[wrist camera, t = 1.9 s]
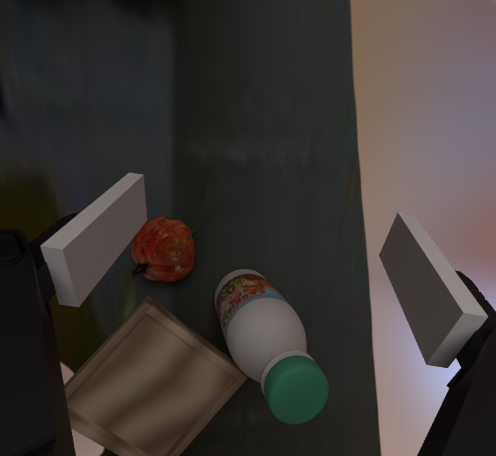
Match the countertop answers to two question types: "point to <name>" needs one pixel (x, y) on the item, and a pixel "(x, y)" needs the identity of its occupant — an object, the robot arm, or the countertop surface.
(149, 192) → the countertop surface
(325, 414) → the countertop surface
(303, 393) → the milk bottle
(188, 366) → the wood tray
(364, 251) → the countertop surface
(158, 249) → the pomegranate
